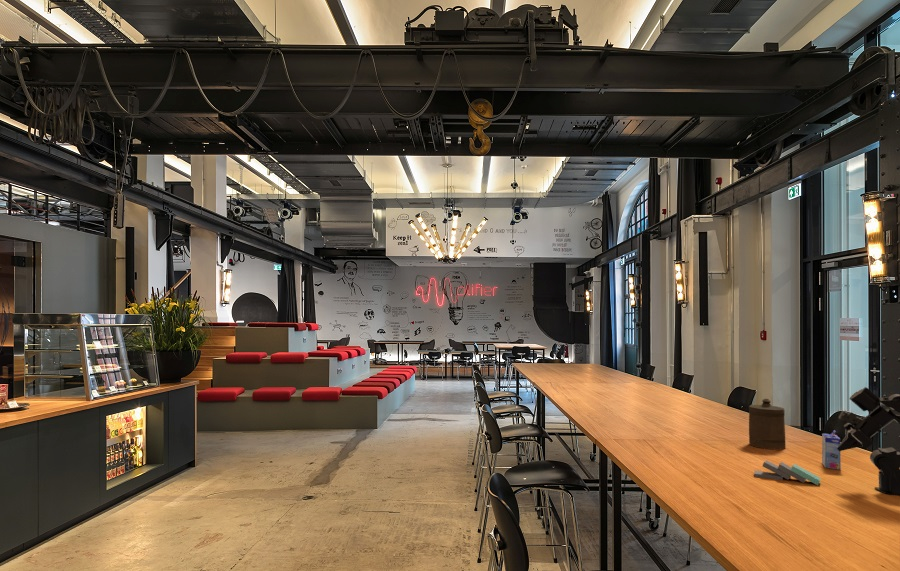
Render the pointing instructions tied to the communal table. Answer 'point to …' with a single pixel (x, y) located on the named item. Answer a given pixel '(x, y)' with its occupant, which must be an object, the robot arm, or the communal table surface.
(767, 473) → the domino end
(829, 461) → the ink cartridge box
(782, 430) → the wooden container
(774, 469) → the domino
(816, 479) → the domino
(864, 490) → the communal table surface
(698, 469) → the communal table surface
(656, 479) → the communal table surface
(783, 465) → the domino
